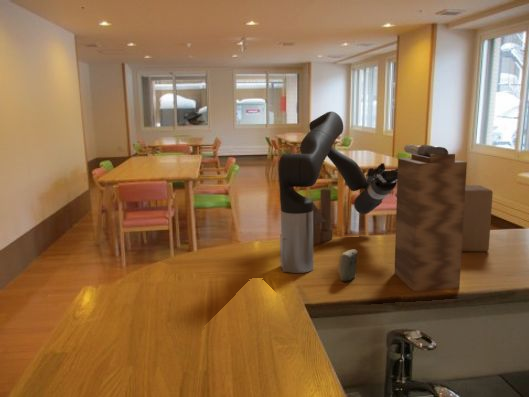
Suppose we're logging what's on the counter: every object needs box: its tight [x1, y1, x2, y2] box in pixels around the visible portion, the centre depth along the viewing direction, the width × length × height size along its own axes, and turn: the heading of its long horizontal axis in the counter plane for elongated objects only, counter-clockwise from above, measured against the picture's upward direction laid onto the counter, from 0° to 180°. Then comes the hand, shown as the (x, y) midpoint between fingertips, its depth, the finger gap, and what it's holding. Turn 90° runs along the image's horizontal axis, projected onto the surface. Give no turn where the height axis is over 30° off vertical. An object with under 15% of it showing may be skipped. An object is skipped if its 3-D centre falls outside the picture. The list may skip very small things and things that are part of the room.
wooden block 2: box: [462, 185, 493, 253], centre depth 146 cm, size 10×10×20 cm
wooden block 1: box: [313, 188, 333, 246], centre depth 158 cm, size 4×11×18 cm, turn 137°
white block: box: [337, 248, 359, 283], centre depth 122 cm, size 6×5×8 cm
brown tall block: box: [394, 153, 468, 292], centre depth 117 cm, size 12×13×34 cm
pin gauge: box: [403, 143, 449, 157], centre depth 119 cm, size 4×21×4 cm, turn 4°
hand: (397, 165), depth 137 cm, fingers open, 8 cm apart
